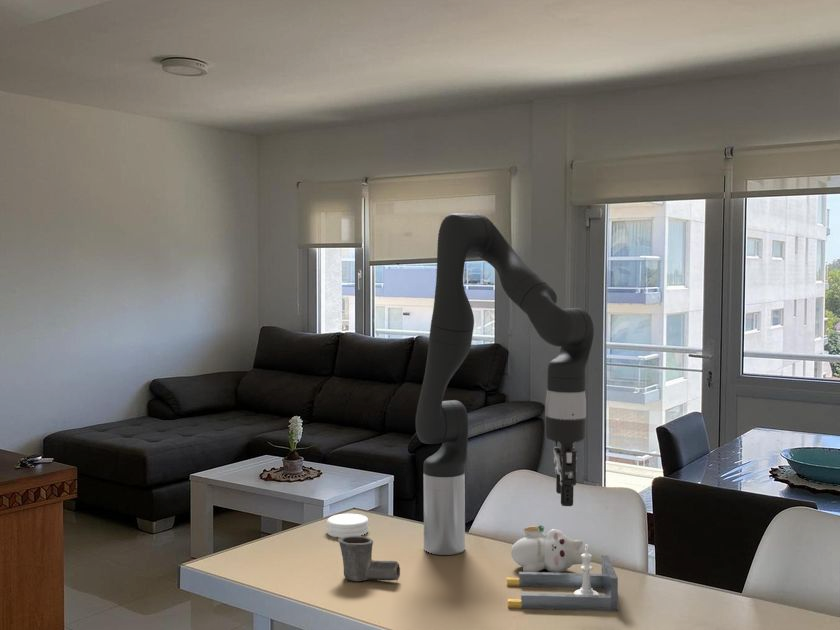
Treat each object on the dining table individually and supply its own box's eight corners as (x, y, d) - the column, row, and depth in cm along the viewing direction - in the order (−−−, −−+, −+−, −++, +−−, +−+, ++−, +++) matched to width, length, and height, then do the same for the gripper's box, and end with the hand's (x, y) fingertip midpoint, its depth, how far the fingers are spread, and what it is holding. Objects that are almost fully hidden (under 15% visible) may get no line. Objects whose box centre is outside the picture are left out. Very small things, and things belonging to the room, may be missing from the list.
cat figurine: (506, 522, 164) (579, 520, 159) (516, 533, 171) (585, 531, 166) (506, 569, 160) (580, 569, 155) (515, 578, 166) (587, 578, 161)
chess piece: (601, 594, 150) (601, 542, 149) (598, 604, 145) (598, 550, 145) (575, 591, 151) (574, 539, 151) (571, 600, 147) (571, 547, 146)
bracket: (506, 583, 155) (506, 553, 155) (607, 586, 154) (607, 555, 153) (507, 607, 143) (507, 575, 143) (617, 611, 142) (617, 578, 141)
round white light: (318, 533, 189) (318, 519, 189) (347, 524, 197) (347, 510, 197) (347, 542, 183) (347, 527, 183) (377, 532, 190) (377, 517, 190)
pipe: (394, 588, 153) (393, 547, 153) (332, 582, 157) (332, 542, 157) (403, 577, 159) (402, 538, 159) (343, 571, 163) (343, 533, 162)
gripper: (591, 421, 141) (589, 510, 142) (580, 408, 155) (579, 489, 156) (548, 420, 141) (547, 509, 142) (542, 407, 156) (541, 488, 156)
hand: (564, 499), depth 149 cm, fingers open, 8 cm apart
